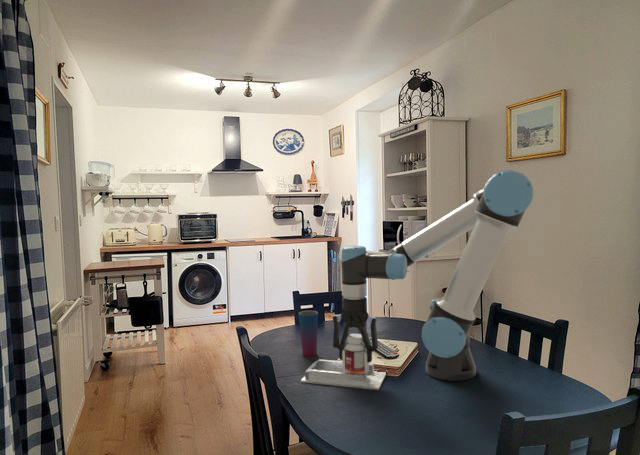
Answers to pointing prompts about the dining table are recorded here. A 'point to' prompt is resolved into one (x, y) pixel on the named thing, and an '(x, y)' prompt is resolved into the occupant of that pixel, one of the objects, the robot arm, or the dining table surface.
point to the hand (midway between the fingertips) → (355, 371)
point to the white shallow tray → (342, 375)
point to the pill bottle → (355, 354)
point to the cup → (308, 332)
